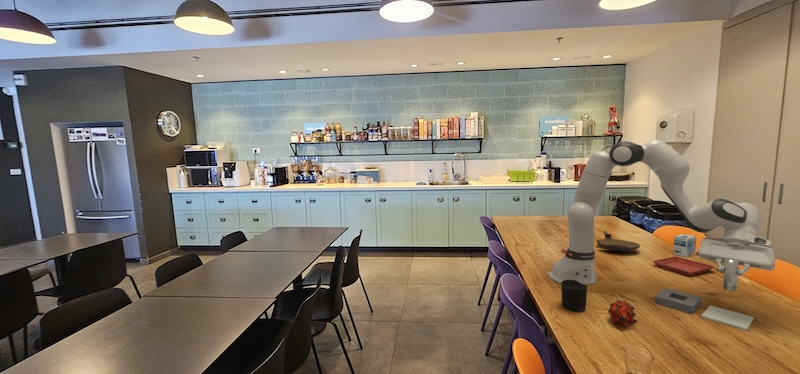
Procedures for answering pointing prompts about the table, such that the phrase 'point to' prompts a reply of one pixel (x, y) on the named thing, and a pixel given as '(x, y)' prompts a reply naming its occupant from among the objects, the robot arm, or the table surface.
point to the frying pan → (616, 244)
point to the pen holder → (573, 295)
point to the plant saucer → (682, 266)
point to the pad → (728, 317)
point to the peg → (730, 274)
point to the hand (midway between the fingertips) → (730, 272)
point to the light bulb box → (684, 245)
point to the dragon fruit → (622, 313)
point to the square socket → (678, 300)
